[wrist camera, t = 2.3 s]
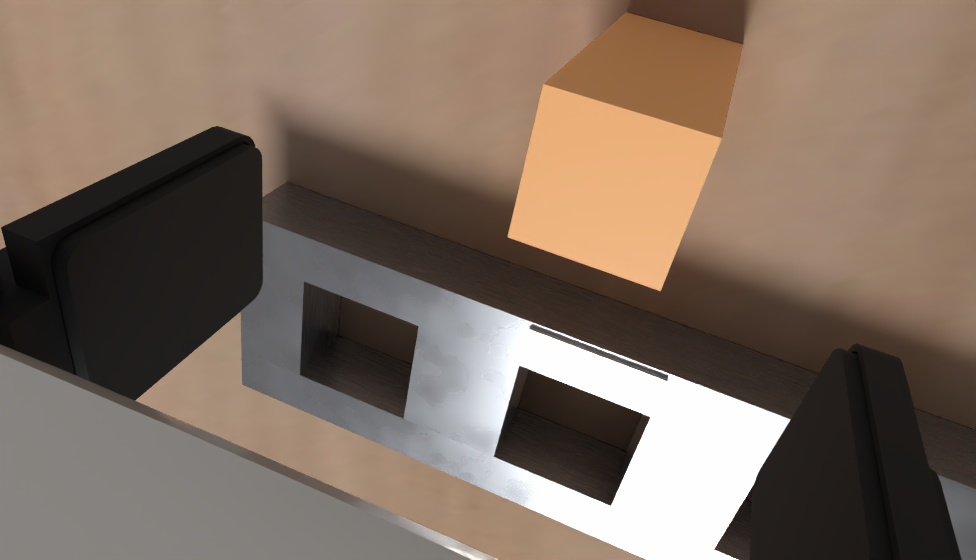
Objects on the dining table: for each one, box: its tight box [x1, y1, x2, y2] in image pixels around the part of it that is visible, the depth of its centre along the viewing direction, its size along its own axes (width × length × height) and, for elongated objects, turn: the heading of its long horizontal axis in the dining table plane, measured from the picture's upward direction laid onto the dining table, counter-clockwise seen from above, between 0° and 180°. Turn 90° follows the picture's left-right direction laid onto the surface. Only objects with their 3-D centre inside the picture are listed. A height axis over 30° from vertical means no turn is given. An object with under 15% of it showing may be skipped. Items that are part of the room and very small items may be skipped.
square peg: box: [508, 12, 743, 291], centre depth 20 cm, size 4×4×10 cm
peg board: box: [241, 182, 976, 560], centre depth 30 cm, size 32×10×4 cm, turn 79°
